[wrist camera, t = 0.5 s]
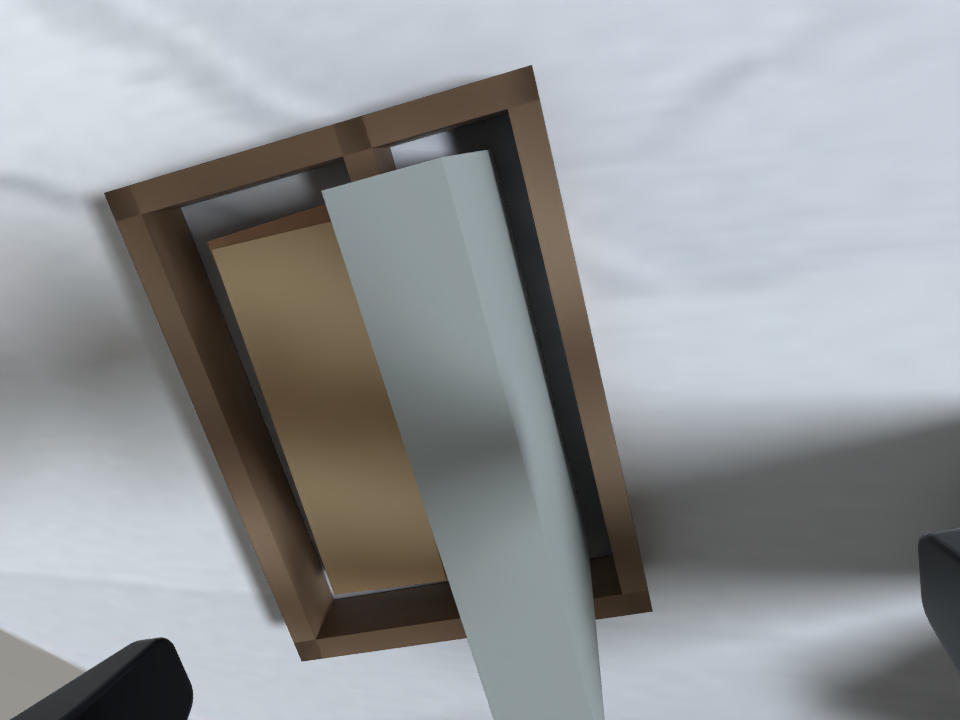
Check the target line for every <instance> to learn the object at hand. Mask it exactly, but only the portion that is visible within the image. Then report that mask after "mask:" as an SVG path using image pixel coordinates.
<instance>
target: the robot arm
mask: <svg viewBox="0 0 960 720" xmlns="http://www.w3.org/2000/svg"><path fill="white" fill-rule="evenodd" d="M918 554H919V569H920V584H921V598H922V603H923V608H924V611H925V614H926V616H927V618H928V620H929V622H930V624H931V626H932V628H933V630H934V631H935V633H936V635H937V637H938V638H939V640H940V642H941V644H942V645H943V647H944V649H945V650H946V652H947V654H948V656H949V657H950V659H951V661H952V663H953V664H954V666H955V668H956V670H957V671H958V673H959V675H960V528H955V529H948V530H940V531H933V532H927V533H924V534H923V535H922V536H921V537H920V539H919V543H918ZM192 703H193V689H192V685H191V683H190V680H189V678H188V676H187V674H186V671H185V669H184V667H183V665H182V662H181V660H180V658H179V656H178V654H177V651H176V649H175V647H174V645H173V643H172V642H170V641H169V640H168V639H166V638H162V637H161V638H153V639H146V640H139V641H136V642H133V643H131V644H129V645H128V646H126V647H125V648H123V649H121V650H120V651H118V652H117V653H115V654H114V655H112V656H110V657H109V658H107V659H106V660H104V661H102V662H101V663H99V664H98V665H96V666H94V667H93V668H91V669H90V670H88V671H87V672H85V673H83V674H82V675H80V676H79V677H77V678H76V679H74V680H72V681H71V682H69V683H68V684H66V685H64V686H63V687H61V688H60V689H58V690H57V691H55V692H53V693H52V694H50V695H49V696H47V697H45V698H44V699H42V700H41V701H39V702H37V703H36V704H34V705H33V706H31V707H29V708H28V709H27V710H25V711H23V712H21V713H20V714H18V715H17V716H15V717H14V718H12V719H10V720H187V719H188V716H189V714H190V711H191V708H192Z"/></svg>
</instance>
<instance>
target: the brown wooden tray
mask: <svg viewBox="0 0 960 720" xmlns="http://www.w3.org/2000/svg"><path fill="white" fill-rule="evenodd" d="M507 113H509V116H510V121H511V125H512V129H513V133H514V138H515V142H516V146H517V150H518V155H519V159H520V163H521V167H522V172H523V176H524V180H525V184H526V189H527V193H528V197H529V201H530V205H531V210H532V214H533V218H534V222H535V227H536V231H537V235H538V239H539V244H540V248H541V252H542V256H543V261H544V265H545V269H546V273H547V278H548V282H549V286H550V290H551V295H552V299H553V303H554V307H555V312H556V316H557V320H558V324H559V329H560V333H561V337H562V341H563V345H564V350H565V354H566V358H567V362H568V367H569V371H570V375H571V379H572V384H573V388H574V392H575V396H576V401H577V405H578V409H579V413H580V418H581V422H582V426H583V430H584V435H585V439H586V443H587V447H588V452H589V456H590V460H591V464H592V468H593V473H594V477H595V481H596V485H597V490H598V494H599V498H600V502H601V507H602V511H603V515H604V519H605V524H606V528H607V532H608V536H609V541H610V545H611V549H612V553H613V556H609V557H603V558H597V559H591V560H590V568H591V579H592V590H593V600H594V611H595V620H596V619H603V618H610V617H617V616H624V615H631V614H638V613H645V612H652V611H653V610H652V606H651V601H650V597H649V592H648V587H647V583H646V578H645V573H644V569H643V564H642V560H641V555H640V551H639V546H638V542H637V537H636V533H635V528H634V524H633V519H632V515H631V510H630V506H629V501H628V497H627V492H626V488H625V483H624V479H623V474H622V470H621V465H620V461H619V456H618V451H617V447H616V442H615V438H614V433H613V429H612V424H611V420H610V415H609V411H608V406H607V402H606V397H605V393H604V388H603V384H602V379H601V375H600V370H599V366H598V361H597V357H596V352H595V348H594V343H593V339H592V334H591V329H590V325H589V320H588V316H587V311H586V307H585V302H584V298H583V293H582V289H581V284H580V280H579V275H578V271H577V266H576V262H575V257H574V253H573V248H572V244H571V239H570V235H569V230H568V226H567V221H566V217H565V212H564V208H563V203H562V198H561V194H560V189H559V185H558V180H557V176H556V171H555V167H554V162H553V158H552V153H551V149H550V144H549V140H548V135H547V131H546V126H545V122H544V117H543V113H542V108H541V104H540V99H539V95H538V90H537V86H536V81H535V76H534V72H533V68H532V65H530V66H527V67H524V68H520V69H517V70H514V71H510V72H507V73H504V74H500V75H497V76H494V77H490V78H487V79H483V80H480V81H477V82H473V83H470V84H467V85H463V86H460V87H457V88H453V89H450V90H447V91H443V92H440V93H437V94H433V95H430V96H427V97H423V98H420V99H417V100H413V101H410V102H407V103H403V104H400V105H397V106H393V107H390V108H387V109H383V110H380V111H377V112H373V113H370V114H367V115H363V116H360V117H357V118H353V119H350V120H346V121H343V122H340V123H336V124H333V125H330V126H326V127H323V128H320V129H316V130H313V131H310V132H306V133H303V134H300V135H296V136H293V137H290V138H286V139H283V140H280V141H276V142H273V143H270V144H266V145H263V146H260V147H256V148H253V149H250V150H246V151H243V152H240V153H236V154H233V155H230V156H226V157H223V158H219V159H216V160H213V161H209V162H206V163H203V164H199V165H196V166H193V167H189V168H186V169H183V170H179V171H176V172H173V173H169V174H166V175H163V176H159V177H156V178H153V179H149V180H146V181H143V182H139V183H136V184H133V185H129V186H126V187H123V188H119V189H116V190H113V191H109V192H106V193H104V194H105V197H106V199H107V201H108V204H109V206H110V208H111V211H112V213H113V216H114V218H115V220H116V223H117V225H118V227H119V230H120V232H121V234H122V237H123V239H124V242H125V244H126V246H127V249H128V251H129V253H130V256H131V258H132V260H133V263H134V265H135V268H136V270H137V272H138V275H139V277H140V279H141V282H142V284H143V287H144V289H145V291H146V294H147V296H148V298H149V301H150V303H151V305H152V308H153V310H154V313H155V315H156V317H157V320H158V322H159V324H160V327H161V329H162V332H163V334H164V336H165V339H166V341H167V343H168V346H169V348H170V350H171V353H172V355H173V358H174V360H175V362H176V365H177V367H178V369H179V372H180V374H181V377H182V379H183V381H184V384H185V386H186V388H187V391H188V393H189V395H190V398H191V400H192V403H193V405H194V407H195V410H196V412H197V414H198V417H199V419H200V422H201V424H202V426H203V429H204V431H205V433H206V436H207V438H208V440H209V443H210V445H211V448H212V450H213V452H214V455H215V457H216V459H217V462H218V464H219V467H220V469H221V471H222V474H223V476H224V478H225V481H226V483H227V485H228V488H229V490H230V493H231V495H232V497H233V500H234V502H235V504H236V507H237V509H238V511H239V514H240V516H241V519H242V521H243V523H244V526H245V528H246V530H247V533H248V535H249V538H250V540H251V542H252V545H253V547H254V549H255V552H256V554H257V556H258V559H259V561H260V564H261V566H262V568H263V571H264V573H265V575H266V578H267V580H268V583H269V585H270V587H271V590H272V592H273V594H274V597H275V599H276V601H277V604H278V606H279V609H280V611H281V613H282V616H283V618H284V620H285V623H286V625H287V628H288V630H289V632H290V635H291V637H292V639H293V642H294V644H295V646H296V649H297V651H298V654H299V656H300V658H301V661H309V660H316V659H323V658H330V657H337V656H344V655H351V654H358V653H365V652H372V651H379V650H386V649H393V648H400V647H407V646H414V645H421V644H428V643H435V642H442V641H449V640H456V639H463V638H467V636H466V633H465V630H464V627H463V624H462V621H461V618H460V615H459V611H458V608H457V605H456V602H455V599H454V596H453V593H452V590H451V587H450V584H449V582H446V583H440V584H434V585H427V586H421V587H415V588H408V589H402V590H396V591H390V592H383V593H377V594H371V595H365V596H358V597H352V598H346V599H339V600H334V599H333V597H332V594H331V591H330V589H329V586H328V584H327V581H326V579H325V576H324V573H323V571H322V568H321V566H320V563H319V561H318V558H317V556H316V553H315V550H314V548H313V545H312V543H311V540H310V538H309V535H308V533H307V530H306V527H305V525H304V522H303V520H302V517H301V515H300V512H299V510H298V507H297V504H296V502H295V499H294V497H293V494H292V492H291V489H290V487H289V484H288V481H287V479H286V476H285V474H284V471H283V469H282V466H281V464H280V461H279V458H278V456H277V453H276V451H275V448H274V446H273V443H272V441H271V438H270V435H269V433H268V430H267V428H266V425H265V423H264V420H263V418H262V415H261V412H260V410H259V407H258V405H257V402H256V400H255V397H254V395H253V392H252V389H251V387H250V384H249V382H248V379H247V377H246V374H245V372H244V369H243V366H242V364H241V361H240V359H239V356H238V354H237V351H236V349H235V346H234V343H233V341H232V338H231V336H230V333H229V331H228V328H227V326H226V323H225V320H224V318H223V315H222V313H221V310H220V308H219V305H218V303H217V300H216V297H215V295H214V292H213V290H212V287H211V285H210V282H209V280H208V277H207V274H206V272H205V269H204V267H203V264H202V262H201V259H200V257H199V254H198V251H197V249H196V246H195V244H194V241H193V239H192V236H191V234H190V231H189V228H188V226H187V223H186V221H185V218H184V216H183V213H182V210H181V208H180V207H184V206H187V205H190V204H194V203H197V202H201V201H204V200H208V199H211V198H215V197H218V196H222V195H225V194H229V193H232V192H236V191H239V190H243V189H246V188H250V187H253V186H256V185H260V184H263V183H267V182H270V181H274V180H277V179H281V178H284V177H288V176H291V175H295V174H298V173H302V172H305V171H309V170H312V169H316V168H319V167H323V166H326V165H329V164H333V163H336V162H340V161H343V160H344V161H345V165H346V168H347V171H348V174H349V177H350V181H351V182H355V181H358V180H362V179H366V178H369V177H373V176H376V175H380V174H383V173H387V172H390V171H394V170H396V166H395V163H394V160H393V156H392V153H391V149H390V147H392V146H395V145H399V144H402V143H406V142H409V141H413V140H416V139H420V138H423V137H427V136H430V135H434V134H437V133H441V132H444V131H448V130H451V129H455V128H458V127H462V126H465V125H468V124H472V123H475V122H479V121H482V120H486V119H489V118H493V117H496V116H500V115H503V114H507Z"/></svg>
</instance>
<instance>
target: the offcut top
mask: <svg viewBox="0 0 960 720" xmlns="http://www.w3.org/2000/svg"><path fill="white" fill-rule="evenodd" d="M212 252H213V255H214V258H215V261H216V263H217V266H218V269H219V272H220V275H221V277H222V280H223V283H224V286H225V289H226V292H227V294H228V297H229V300H230V303H231V306H232V308H233V311H234V314H235V317H236V320H237V322H238V325H239V328H240V331H241V334H242V337H243V339H244V342H245V345H246V348H247V351H248V353H249V356H250V359H251V362H252V365H253V367H254V370H255V373H256V376H257V379H258V381H259V384H260V387H261V390H262V393H263V396H264V398H265V401H266V404H267V407H268V410H269V412H270V415H271V418H272V421H273V424H274V426H275V429H276V432H277V435H278V438H279V441H280V443H281V446H282V449H283V452H284V455H285V457H286V460H287V463H288V466H289V469H290V471H291V474H292V477H293V480H294V483H295V486H296V488H297V491H298V494H299V497H300V500H301V502H302V505H303V508H304V511H305V514H306V516H307V519H308V522H309V525H310V528H311V530H312V533H313V536H314V539H315V542H316V545H317V547H318V550H319V553H320V556H321V559H322V561H323V564H324V567H325V570H326V573H327V575H328V578H329V581H330V584H331V587H332V590H333V592H334V595H336V594H344V593H352V592H360V591H368V590H376V589H384V588H392V587H400V586H408V585H416V584H424V583H432V582H440V581H447V575H446V572H445V569H444V565H443V562H442V559H441V556H440V553H439V550H438V547H437V544H436V541H435V538H434V535H433V532H432V529H431V526H430V523H429V520H428V516H427V513H426V510H425V507H424V504H423V501H422V498H421V495H420V492H419V489H418V486H417V483H416V480H415V477H414V474H413V470H412V467H411V464H410V461H409V458H408V455H407V452H406V449H405V446H404V443H403V440H402V437H401V434H400V431H399V428H398V424H397V421H396V418H395V415H394V412H393V409H392V406H391V403H390V400H389V397H388V394H387V391H386V388H385V385H384V382H383V378H382V375H381V372H380V369H379V366H378V363H377V360H376V357H375V354H374V351H373V348H372V345H371V342H370V339H369V336H368V333H367V329H366V326H365V323H364V320H363V317H362V314H361V311H360V308H359V305H358V302H357V299H356V296H355V293H354V290H353V287H352V283H351V280H350V277H349V274H348V271H347V268H346V265H345V262H344V259H343V256H342V253H341V250H340V247H339V244H338V241H337V237H336V234H335V231H334V228H333V225H332V222H331V221H326V222H322V223H318V224H314V225H310V226H305V227H301V228H297V229H293V230H289V231H285V232H280V233H276V234H272V235H268V236H264V237H259V238H255V239H251V240H247V241H243V242H238V243H234V244H230V245H226V246H222V247H219V248H216V249H213V250H212Z"/></svg>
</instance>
